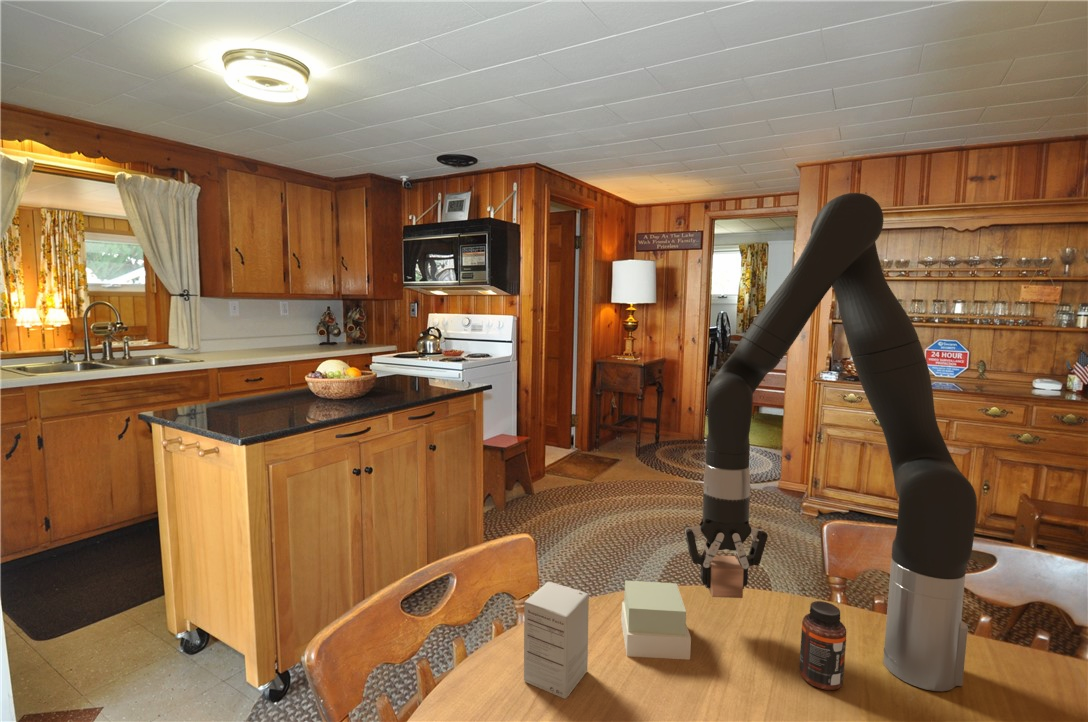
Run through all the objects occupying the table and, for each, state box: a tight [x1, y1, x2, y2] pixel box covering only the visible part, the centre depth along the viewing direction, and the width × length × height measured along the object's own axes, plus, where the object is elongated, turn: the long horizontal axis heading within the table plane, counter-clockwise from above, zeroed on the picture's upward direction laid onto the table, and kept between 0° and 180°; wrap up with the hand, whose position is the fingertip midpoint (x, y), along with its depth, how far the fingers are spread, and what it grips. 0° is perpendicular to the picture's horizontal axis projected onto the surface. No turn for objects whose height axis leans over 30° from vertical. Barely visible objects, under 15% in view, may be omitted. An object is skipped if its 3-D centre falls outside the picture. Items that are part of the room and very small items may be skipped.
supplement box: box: [523, 581, 590, 700], centre depth 81 cm, size 7×7×13 cm
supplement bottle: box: [799, 600, 847, 691], centre depth 81 cm, size 6×6×11 cm
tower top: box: [623, 580, 687, 636], centre depth 91 cm, size 9×9×4 cm
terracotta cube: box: [707, 555, 744, 599], centre depth 93 cm, size 5×5×5 cm
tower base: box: [620, 600, 692, 660], centre depth 91 cm, size 10×10×4 cm
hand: (723, 586), depth 94 cm, fingers closed on terracotta cube, 5 cm apart
